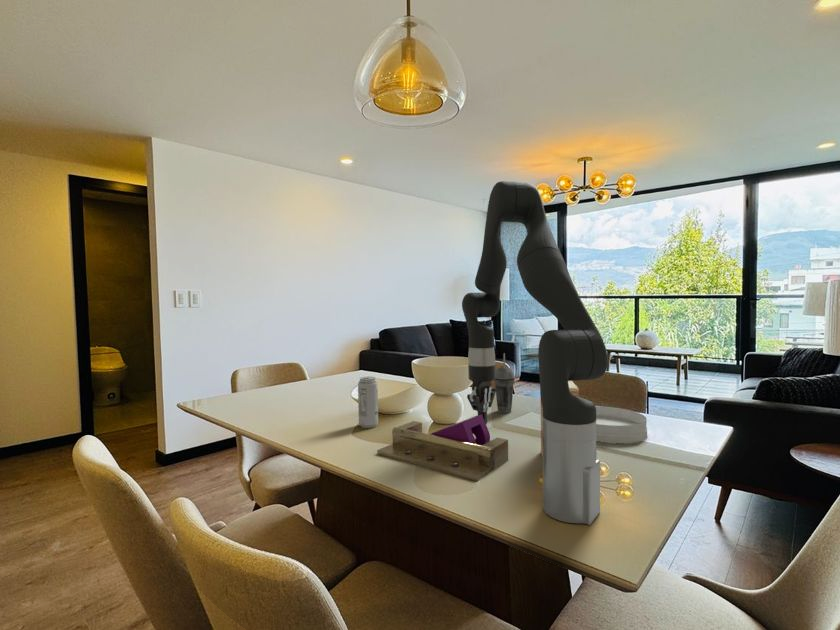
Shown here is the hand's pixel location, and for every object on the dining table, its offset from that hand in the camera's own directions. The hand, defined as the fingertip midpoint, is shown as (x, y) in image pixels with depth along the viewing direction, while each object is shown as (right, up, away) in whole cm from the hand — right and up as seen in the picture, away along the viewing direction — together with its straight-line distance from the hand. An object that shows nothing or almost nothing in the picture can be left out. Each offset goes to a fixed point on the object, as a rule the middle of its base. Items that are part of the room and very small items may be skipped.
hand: (482, 424), depth 125 cm
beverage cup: (+11, -3, +27) cm, 29 cm away
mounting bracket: (-10, -5, -11) cm, 15 cm away
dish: (+36, -3, +3) cm, 36 cm away
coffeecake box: (+15, -4, -21) cm, 26 cm away
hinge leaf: (-12, -4, -15) cm, 20 cm away
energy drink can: (-34, -4, +13) cm, 36 cm away
